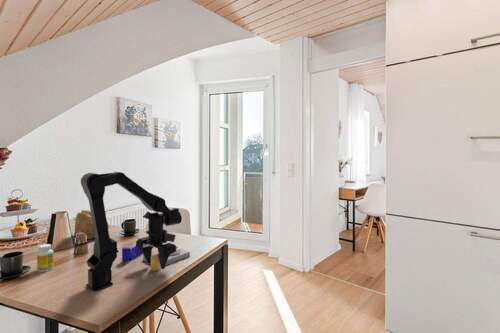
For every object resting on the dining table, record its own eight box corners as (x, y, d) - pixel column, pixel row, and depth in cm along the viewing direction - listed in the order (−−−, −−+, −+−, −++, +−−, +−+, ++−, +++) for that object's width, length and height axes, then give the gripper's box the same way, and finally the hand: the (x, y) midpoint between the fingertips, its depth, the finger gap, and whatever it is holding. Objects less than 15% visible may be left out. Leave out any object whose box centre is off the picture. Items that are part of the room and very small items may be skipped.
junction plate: (160, 267, 116) (160, 257, 116) (143, 260, 123) (143, 251, 123) (189, 256, 129) (189, 247, 129) (172, 250, 136) (172, 242, 136)
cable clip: (135, 252, 133) (135, 239, 133) (143, 253, 133) (143, 240, 132) (118, 261, 122) (118, 247, 121) (128, 262, 121) (128, 248, 121)
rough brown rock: (107, 243, 149) (109, 214, 149) (70, 244, 142) (73, 214, 142) (108, 233, 170) (110, 208, 170) (76, 233, 163) (78, 207, 163)
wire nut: (154, 271, 111) (154, 257, 111) (148, 269, 114) (148, 254, 113) (163, 268, 115) (163, 254, 114) (157, 266, 117) (157, 252, 117)
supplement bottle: (41, 267, 114) (41, 243, 114) (56, 266, 115) (55, 243, 115) (34, 272, 109) (33, 248, 109) (49, 271, 110) (49, 247, 110)
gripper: (187, 227, 115) (186, 265, 115) (158, 221, 126) (158, 255, 126) (164, 233, 106) (164, 274, 106) (135, 225, 117) (135, 263, 117)
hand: (155, 266), depth 114 cm, fingers open, 9 cm apart
